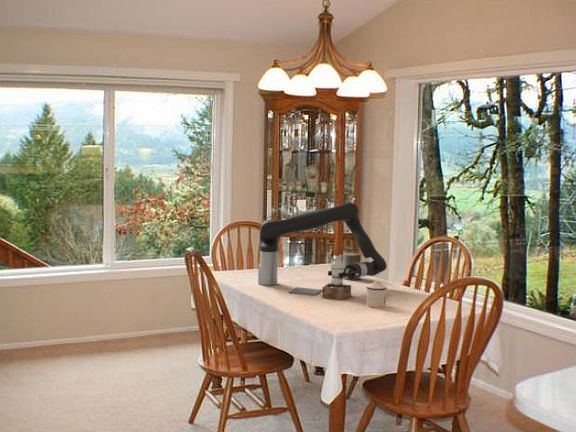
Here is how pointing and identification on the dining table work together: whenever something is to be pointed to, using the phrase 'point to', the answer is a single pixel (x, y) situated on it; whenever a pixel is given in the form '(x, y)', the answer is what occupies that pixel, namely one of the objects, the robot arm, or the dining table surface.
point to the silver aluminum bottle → (337, 272)
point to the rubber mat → (305, 291)
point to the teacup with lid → (376, 295)
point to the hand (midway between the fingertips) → (334, 274)
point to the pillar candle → (351, 261)
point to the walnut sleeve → (336, 292)
